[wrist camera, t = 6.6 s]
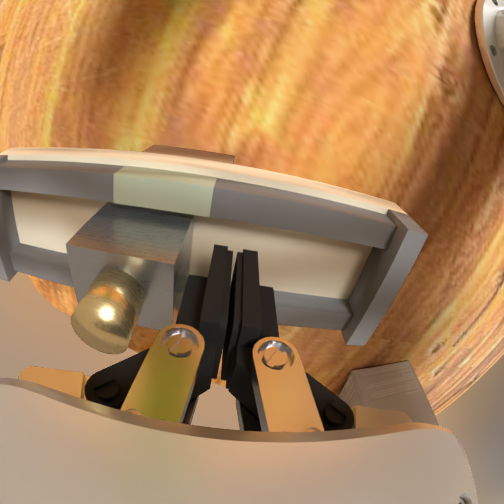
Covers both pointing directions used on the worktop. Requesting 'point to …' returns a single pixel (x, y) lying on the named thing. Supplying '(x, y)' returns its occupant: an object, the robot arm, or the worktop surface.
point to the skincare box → (389, 391)
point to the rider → (128, 272)
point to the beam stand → (218, 226)
